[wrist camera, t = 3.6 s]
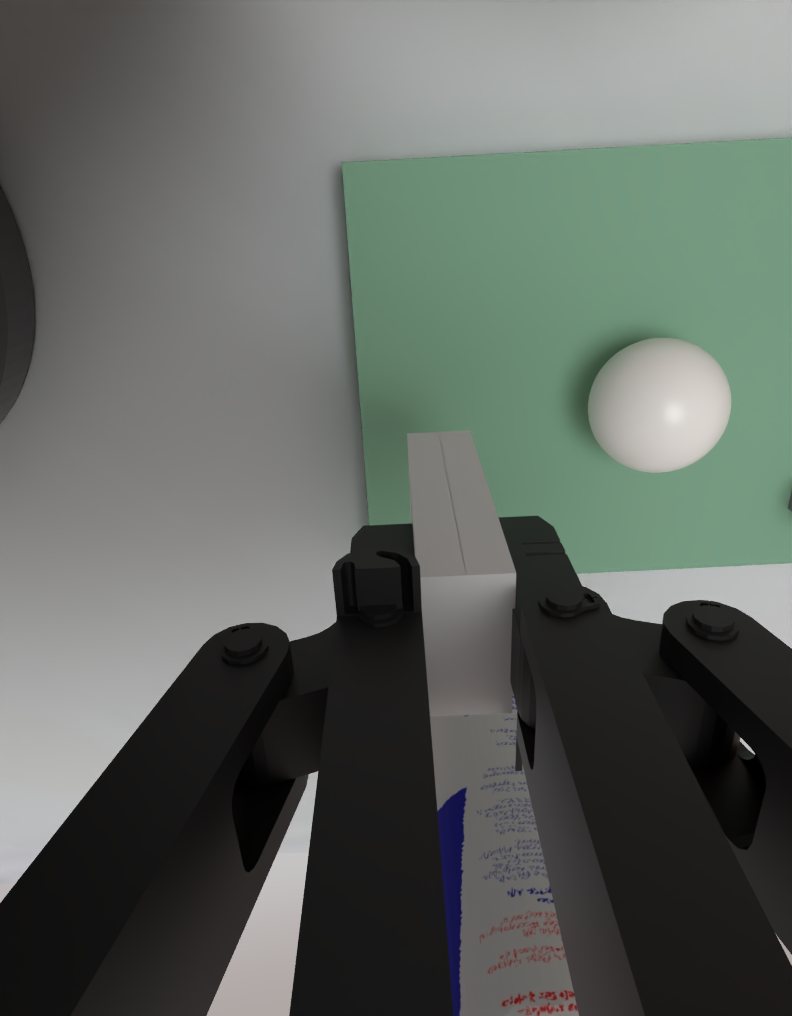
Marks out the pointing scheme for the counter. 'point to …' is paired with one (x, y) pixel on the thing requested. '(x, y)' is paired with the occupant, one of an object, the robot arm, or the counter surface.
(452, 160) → the green mat
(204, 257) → the counter surface
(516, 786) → the beverage can
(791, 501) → the grey u-shaped bracket
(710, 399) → the ball
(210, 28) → the counter surface
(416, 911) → the robot arm
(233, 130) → the counter surface
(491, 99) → the counter surface
